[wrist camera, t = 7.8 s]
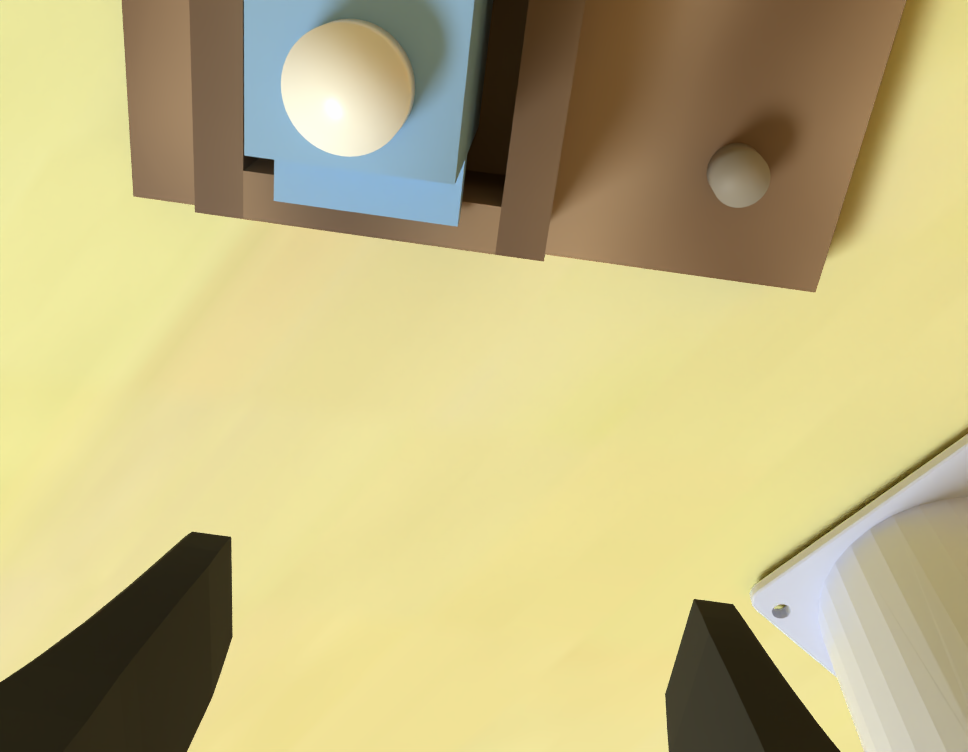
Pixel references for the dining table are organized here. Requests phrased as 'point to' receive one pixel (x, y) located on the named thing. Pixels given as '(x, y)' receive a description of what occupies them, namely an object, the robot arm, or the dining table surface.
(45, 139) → the dining table surface
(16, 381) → the dining table surface
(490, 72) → the board
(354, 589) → the dining table surface
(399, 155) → the block
